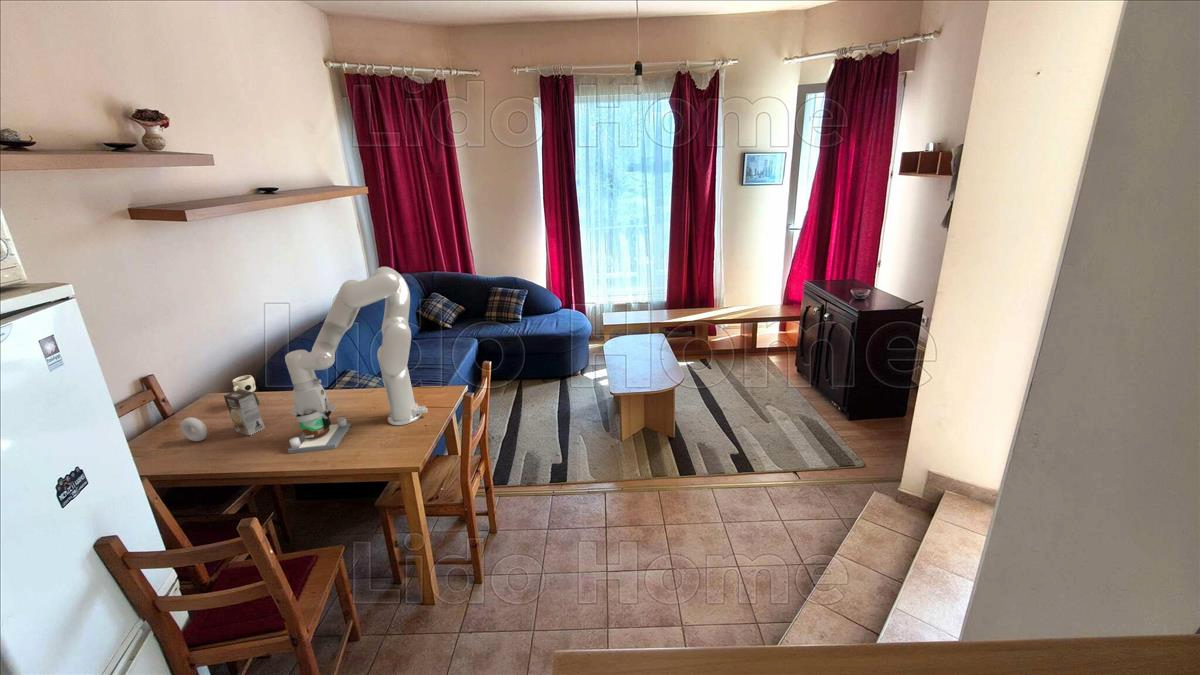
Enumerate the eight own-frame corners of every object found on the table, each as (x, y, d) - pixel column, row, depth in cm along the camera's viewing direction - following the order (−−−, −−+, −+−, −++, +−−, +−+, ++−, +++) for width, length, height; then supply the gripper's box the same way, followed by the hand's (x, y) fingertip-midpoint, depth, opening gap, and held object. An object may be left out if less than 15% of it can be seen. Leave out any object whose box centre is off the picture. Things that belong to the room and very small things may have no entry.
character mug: (249, 411, 210) (239, 383, 206) (234, 411, 211) (224, 384, 207) (267, 399, 220) (259, 373, 216) (253, 399, 221) (244, 373, 217)
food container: (318, 442, 177) (310, 417, 174) (303, 441, 179) (295, 417, 175) (340, 424, 189) (333, 401, 185) (326, 424, 190) (319, 401, 186)
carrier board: (351, 426, 193) (348, 415, 191) (335, 448, 178) (332, 437, 176) (308, 430, 191) (305, 420, 190) (289, 453, 176) (285, 442, 175)
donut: (183, 442, 188) (173, 419, 185) (191, 437, 192) (182, 415, 188) (205, 443, 187) (196, 420, 183) (213, 439, 190) (204, 416, 186)
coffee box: (235, 432, 194) (222, 395, 188) (251, 424, 199) (239, 388, 194) (249, 436, 190) (236, 399, 184) (266, 428, 195) (254, 391, 190)
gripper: (334, 377, 181) (346, 420, 187) (285, 382, 179) (298, 425, 186) (326, 385, 174) (339, 430, 180) (275, 391, 172) (289, 436, 179)
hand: (318, 427), depth 183 cm, fingers closed on food container, 5 cm apart
